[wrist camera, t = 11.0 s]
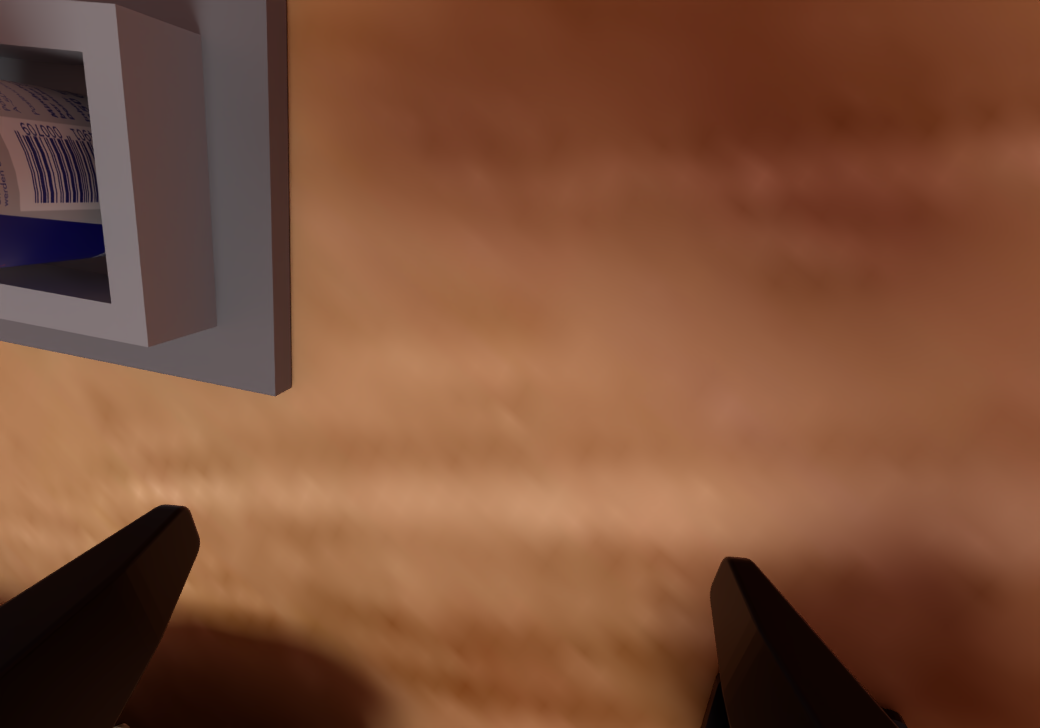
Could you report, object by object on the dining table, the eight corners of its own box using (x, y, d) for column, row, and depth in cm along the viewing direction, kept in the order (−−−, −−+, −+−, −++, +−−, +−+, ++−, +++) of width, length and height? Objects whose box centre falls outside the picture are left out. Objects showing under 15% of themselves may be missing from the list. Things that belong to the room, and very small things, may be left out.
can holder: (291, 387, 22) (217, 427, 18) (-5, 328, 24) (-126, 353, 20) (285, -35, 17) (185, -100, 13) (-76, -57, 19) (-248, -117, 16)
